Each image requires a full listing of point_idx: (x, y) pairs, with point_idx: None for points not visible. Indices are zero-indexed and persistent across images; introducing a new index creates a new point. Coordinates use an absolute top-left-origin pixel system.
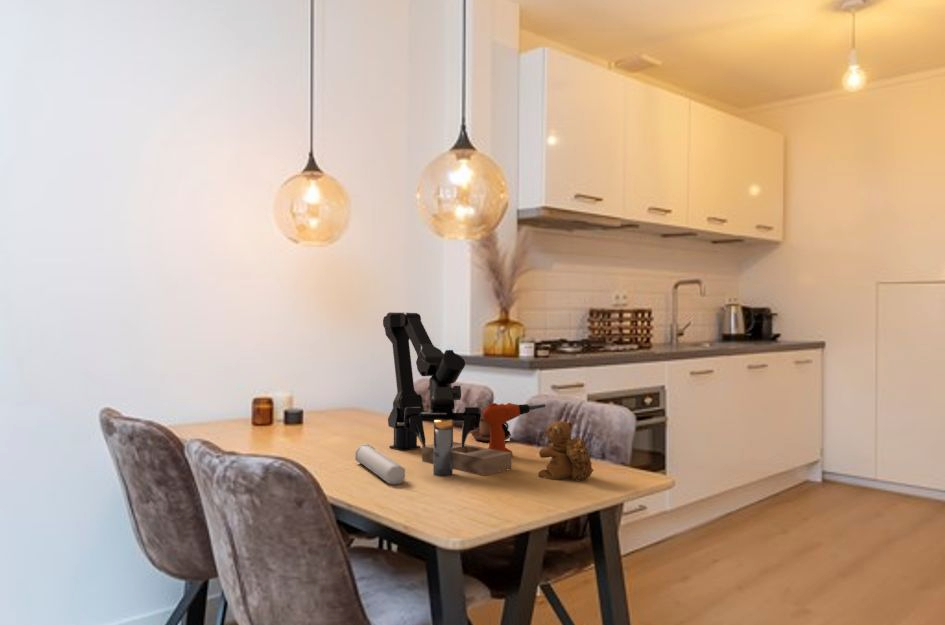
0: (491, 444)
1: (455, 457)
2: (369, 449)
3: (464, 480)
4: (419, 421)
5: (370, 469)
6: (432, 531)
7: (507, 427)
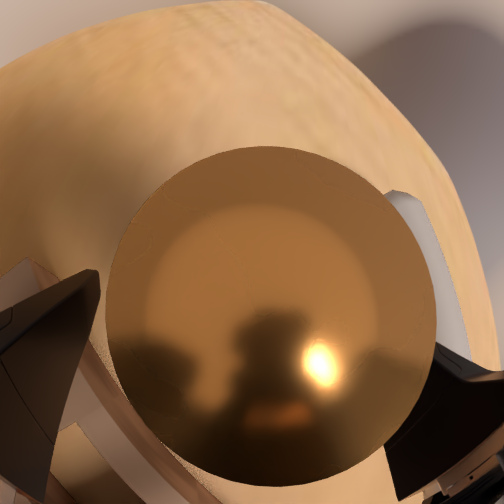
0: None
1: (136, 437)
2: None
3: None
4: (500, 375)
5: None
6: (285, 15)
7: None
